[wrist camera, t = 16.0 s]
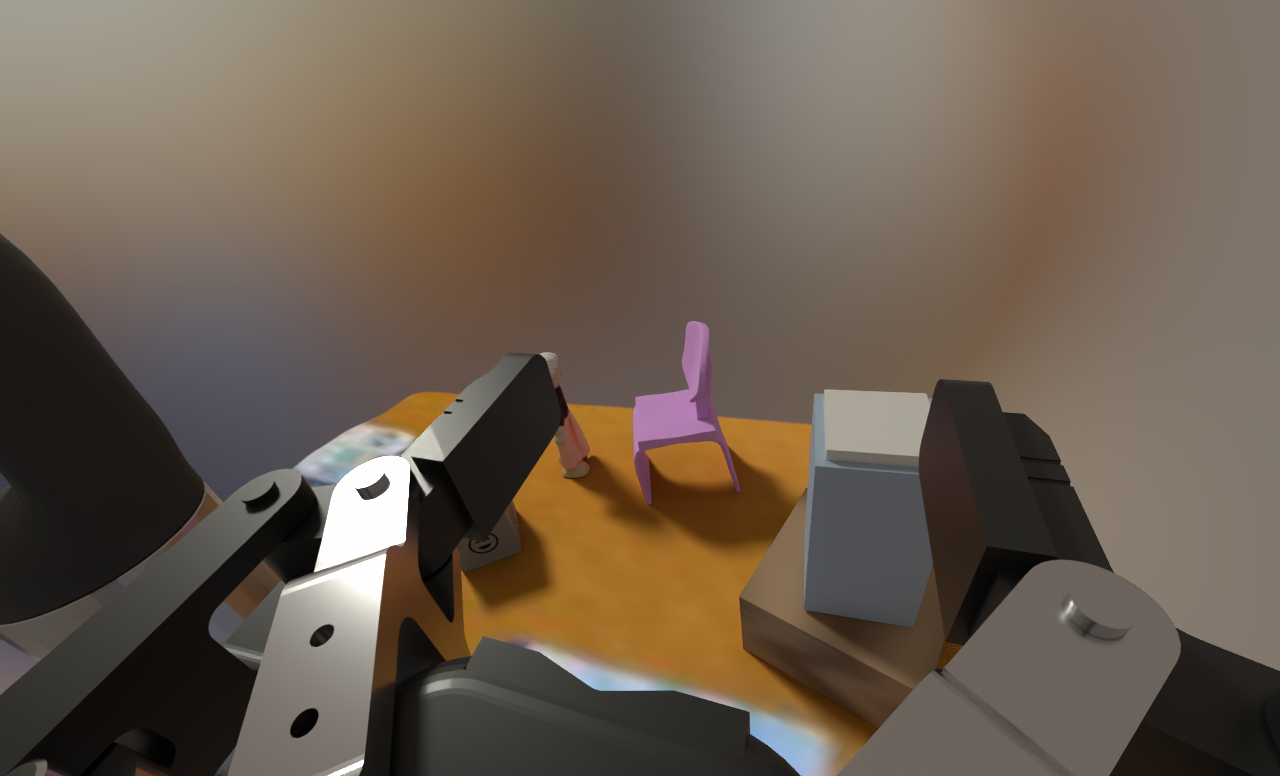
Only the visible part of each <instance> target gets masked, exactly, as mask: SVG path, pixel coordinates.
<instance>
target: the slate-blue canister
mask: <svg viewBox="0 0 1280 776" xmlns="http://www.w3.org/2000/svg"><path fill="white" fill-rule="evenodd" d="M931 401H932V399H931V398H930V399H929V398H928V397H927V394H925V393H901V392H900V393H899V392H875V391H850V390H849V391H848V390H824V394H814V405H813V420H812V434H811V448H810V462H809V476H808V490H807V504H806V518H805V536H804V610H808V611H814V612H820V613H826V614H832V615H838V616H844V617H850V618H856V619H862V620H868V621H874V622H880V623H886V624H892V625H898V626H904V627H910V628H913V627H914V624H915V621H916V617H917V614H918V611H919V607H920V604H921V601H922V598H923V594H924V591H925V588H926V584H927V581H928V578H929V575H930V571H931V568H932V565H933V560H932V554H931V547H930V541H929V535H928V529H927V522H926V516H925V510H924V503H923V497H922V491H921V485H920V478H919V451H920V444H921V440H922V436H923V432H924V428H925V425H926V421H927V417H928V413H929V409H930V405H931Z"/></svg>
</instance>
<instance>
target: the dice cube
mask: <svg viewBox="0 0 1280 776" xmlns="http://www.w3.org/2000/svg"><path fill="white" fill-rule="evenodd" d="M456 548H457V549H458V551H459V553H460V559H461V570H462V571H463V573H465V572H467V571H470V570H473V569H476V568H479V567H481V566H484V565H487V564H490V563H492V562H495V561H498V560H501V559H503V558H506V557H509V556H512V555H515V554H517V553H520V552H522V545H521V538H520V531H519V524H518V517H517V511H516V508H515V506H514V504H513V501H511V503H510V504H509V506H508V507H507V509H506V510H505V512H504V513H503V515H502V516H501V518H500V519H499V521H498V522H497V524H496V525H495V527H494V528H493V530H492V531H491V533H490V535H489V536H488V538H487V539H486V541H485V542H481V541H476V540H472V539H467V538H462V540H461V541H460V542H459V544H458V545H457V547H456Z"/></svg>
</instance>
